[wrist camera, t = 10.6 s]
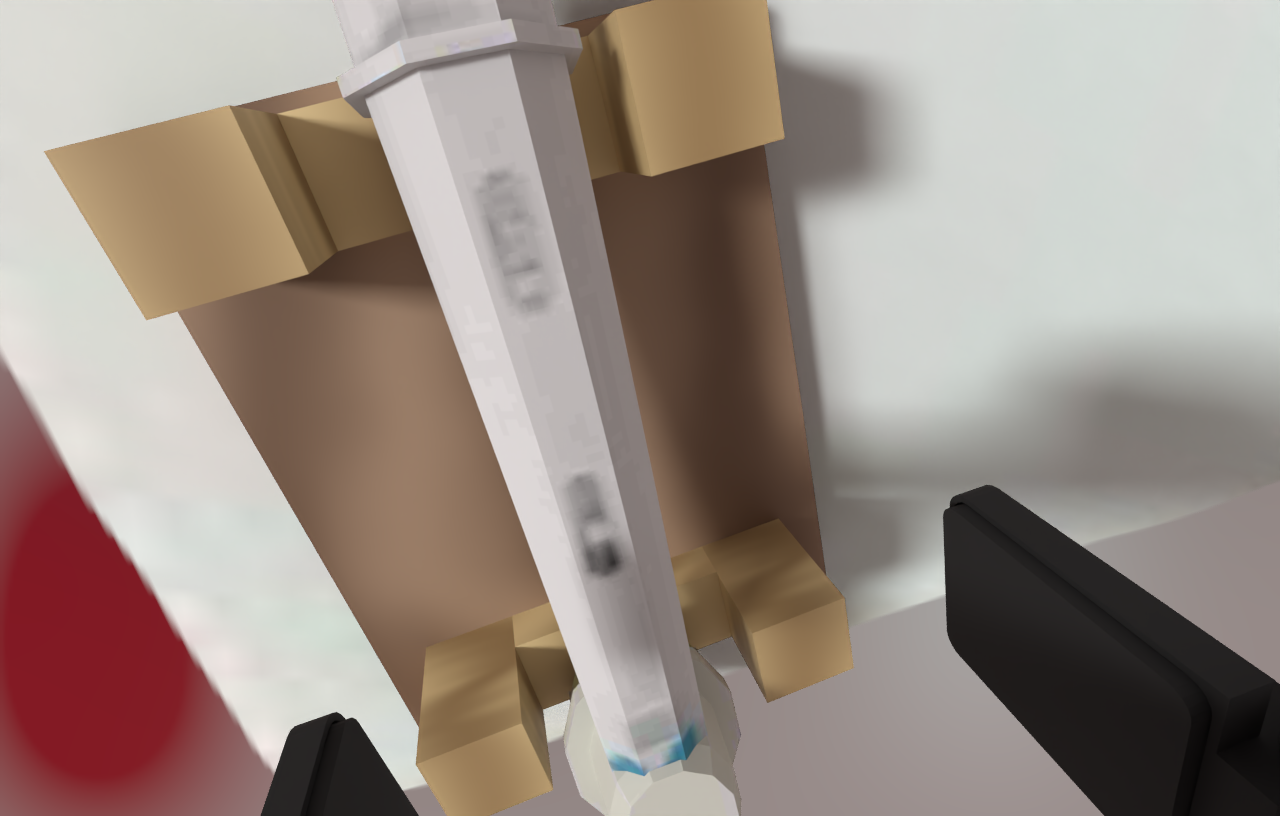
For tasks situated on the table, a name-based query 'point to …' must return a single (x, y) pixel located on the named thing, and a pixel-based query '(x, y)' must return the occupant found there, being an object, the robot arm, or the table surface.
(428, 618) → the rack
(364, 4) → the electric toothbrush handle
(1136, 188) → the table surface
